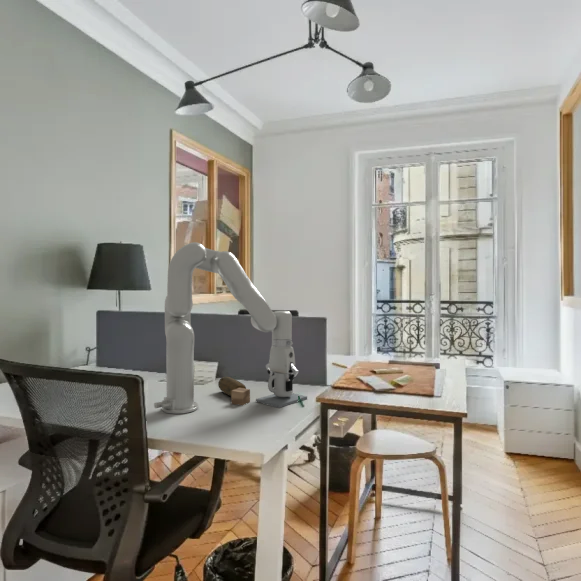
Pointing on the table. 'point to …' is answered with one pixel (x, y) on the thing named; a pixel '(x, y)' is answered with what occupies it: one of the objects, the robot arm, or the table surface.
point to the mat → (280, 400)
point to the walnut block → (240, 396)
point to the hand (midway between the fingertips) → (281, 388)
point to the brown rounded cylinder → (229, 385)
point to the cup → (279, 385)
